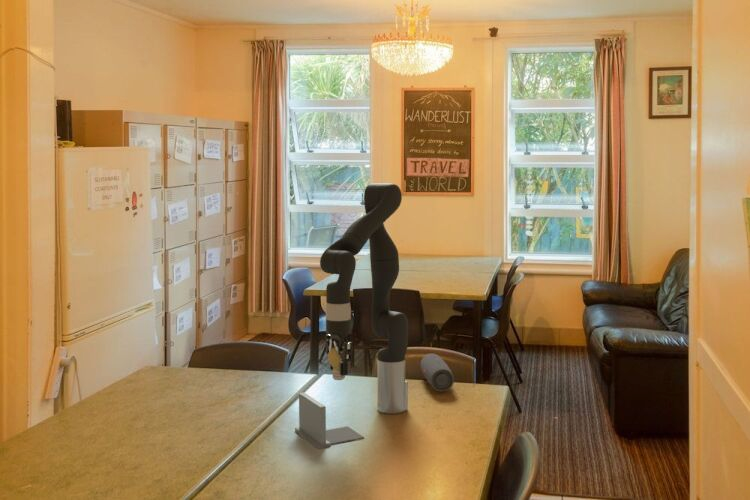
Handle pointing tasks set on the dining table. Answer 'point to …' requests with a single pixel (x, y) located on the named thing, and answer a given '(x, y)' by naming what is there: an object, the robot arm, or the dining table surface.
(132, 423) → the dining table surface
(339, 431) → the mat
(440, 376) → the bluetooth speaker
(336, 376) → the yellow light bulb
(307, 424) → the screen
